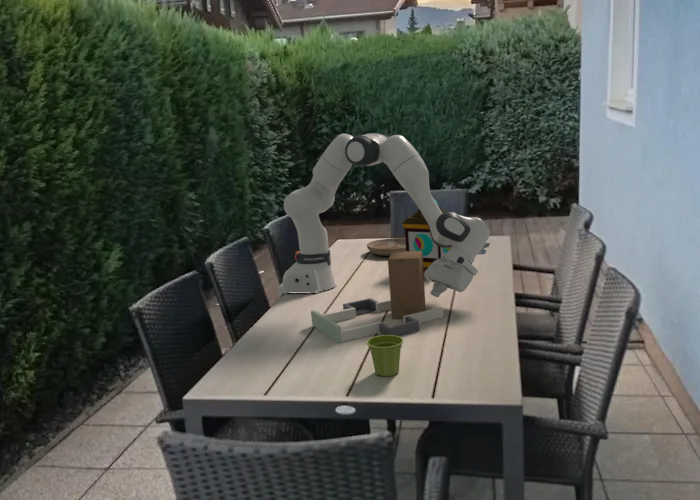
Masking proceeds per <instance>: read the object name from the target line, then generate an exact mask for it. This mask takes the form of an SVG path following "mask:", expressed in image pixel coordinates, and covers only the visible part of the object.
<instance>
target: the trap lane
mask: <svg viewBox="0 0 700 500" xmlns="http://www.w3.org/2000/svg"><path fill="white" fill-rule="evenodd" d="M389 310H391V299H387V300H382V301H377V303H376V313H381V312H385V311H389ZM444 313H445V312H444V307H435V308H432V309H427V310H425V311H423V312H419V313H415V314H410V315H406V316H403V319H402V321H403V323H406V321H405V317H408V316H409V317H411V318H413V319H415V320H417V321H419V324H421V323H425V322H426V323H427V322H429V321H433V320H438V319H441V318H442V319H443V318H444V317H445V315H444ZM310 314H311V325H313V326H314V328H315V327H316V328H317V330H318V329H319V330H320V332H321V333H323V334H324V335H326V336H327V337H329V338H330V339H332V340H333V341H334V342H336V343H338V344H339V343H342V342H347V341H351V340H355V339H356V340H357V339H359V338H363V337H367V336H372V335H376V334H381V333H380V330H379V323H382V322H383V321H378V322H373V323H369V324H364V325H359V326H356V327H350V328H347V329H343V330H342V328H341V325H340V324H339V323H337V322H341V321H340V320H342V321H345V320H350V319H353V318H354V319H355V318H357V316H356V308H350V309H345V310H343V309H342V310H337V311H333V312H328V313H324V314H321V313H320V312H318V311H316V310H315V309H313V310H311V311H310ZM336 321H337V322H336ZM313 326H312V327H313ZM316 328H315V329H316ZM319 330H318V331H319Z"/></svg>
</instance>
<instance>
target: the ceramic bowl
mask: <svg viewBox="0 0 700 500" xmlns="http://www.w3.org/2000/svg"><path fill="white" fill-rule="evenodd" d="M366 248H367V249H368V251H370V252H371V253H373V254H375V255H377V256H382V257H390V255H391V254H392V252H405V251H406V240H405V238H400V237H395V238H394V237H393V238H383V239H377V240H373V241H370V242H368V243H367V244H366Z"/></svg>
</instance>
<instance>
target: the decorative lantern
mask: <svg viewBox="0 0 700 500" xmlns="http://www.w3.org/2000/svg"><path fill="white" fill-rule="evenodd" d="M433 199H434V200H435V202H436V203H437V205H438V207H439V204H438V201H437V200H436V199H435V198H434V197H433ZM439 208H440V210H441V212H442V213H445V212H447V211H446V210H444V209H443V208H442V207H439ZM401 225H402V227H403V229H404V235H405V236H404V237H405V240H406V251H422V253H423V270H427V269H428V268H429V266H430V265H431V264H432V263H433V262H434V261H435V260H437V259H439V258H441V257H443V258H444V257H445V255H446V254H447V252H448V251H449V250H450V248H451V247H449V248H441V247H439V246H437V245H436V244H435V243H434V242H433V241H432V239H431V235H430V229H429V226H428V223H427V222H426V220H425V218H424V217H423V215H422V214H421V212H420V210H419V209H417V211H416V212H414V214H413V215H411V216H408V217H406V219H404V220H403V222H402V223H401Z"/></svg>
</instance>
